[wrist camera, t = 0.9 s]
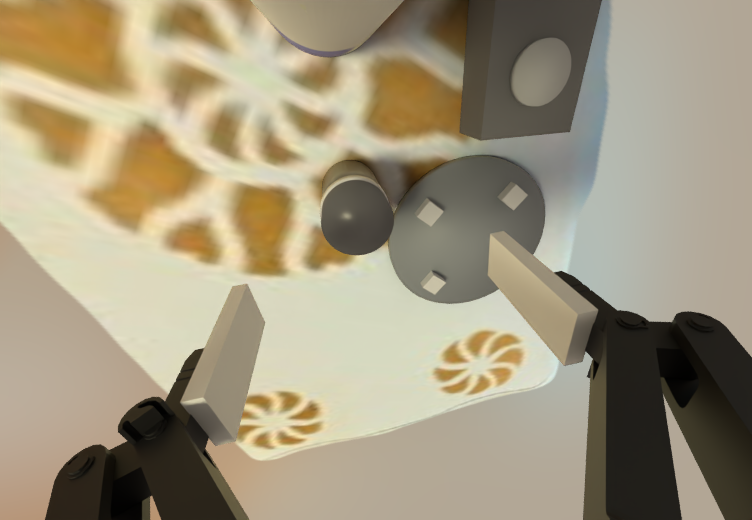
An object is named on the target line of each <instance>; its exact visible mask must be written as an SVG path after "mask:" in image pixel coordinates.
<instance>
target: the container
mask: <svg viewBox="0 0 752 520" xmlns="http://www.w3.org/2000/svg"><path fill="white" fill-rule="evenodd" d="M250 1H251V2H252V3H253V4H254V5H255V6H256V7H257V9H258V10H259V11H260V12H261V13H262V14H263V15H264V16H265V17H266V19H267V20H268V21H269V22H270V23H271V24H272V25H273V26H274V28H275V29H276V30H277V31H278V32H279V33H280V34H281V35H282V36H283V37H284V38H285V39H286V40H287V41H288V42H290V43H291V44H292V45H294V46H295V47H297V48H298V49H300V50H302V51H304V52H306V53H309V54H312V55H315V56H320V57H336V56H341V55H345V54H347V53H350V52H352V51H353V50H355V49H357V48H358V47H360V46H361V45H362V44H363V43H364V42H365V41H366V40H367V39H368V38H369V37H370V36H371V35H372V34H373V33H374V32H375V31H376V30H377V29H378V28H379V27H380V26H381V24H382V23H383V22H384V21H385V20H386V19H387V18H388V17H389V16H390V15H391V14H392V13H393V12H394V11H395V10H396V8H397V7H398V6H399V5H400V4H401V3H402V2H403V1H404V0H250Z"/></svg>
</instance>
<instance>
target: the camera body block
mask: <svg viewBox="0 0 752 520" xmlns="http://www.w3.org/2000/svg"><path fill="white" fill-rule="evenodd" d="M601 1H602V0H469V5H468V19H467V33H466V47H465V62H464V76H463V90H462V104H461V119H460V133H462V134H465V135H467V136H470V137H473V138H476V139H478V140H490V139H501V138H511V137H521V136H532V135H542V134H552V133H562V132H570V129H571V124H572V120H573V116H574V112H575V108H576V104H577V100H578V96H579V92H580V87H581V83H582V79H583V75H584V71H585V67H586V63H587V59H588V55H589V50H590V46H591V42H592V38H593V34H594V30H595V26H596V22H597V18H598V13H599V9H600V5H601Z"/></svg>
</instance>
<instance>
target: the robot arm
mask: <svg viewBox="0 0 752 520" xmlns="http://www.w3.org/2000/svg"><path fill="white" fill-rule="evenodd" d="M488 276H489V277H490V279H491V280H492V281H493V282H494V283H495V285H496V286H497V287H498V288H499V289H500V290H501V292H502V293H503V294H504V295H505V296H506V298H507V299H508V300H509V301H510V302H511V304H512V305H513V306H514V307H515V308H516V309H517V311H518V312H519V313H520V314H521V315H522V317H523V318H524V319H525V320H526V321H527V322H528V324H529V325H530V326H531V327H532V328H533V330H534V331H535V332H536V333H537V334H538V336H539V337H540V338H541V339H542V340H543V341H544V343H545V344H546V345H547V346H548V347H549V349H550V350H551V351H552V352H553V353H554V355H555V356H556V357H557V358H558V359H559V360H560V362H561V363H562V364H563V365H564V366H566V365H571V364H575V363H579V362H582V361H583V358H584V355H585V352H587V353H588V354H589V355H590V356H591V357H592V358H593V360H592V364H591V366H590V369H589V372H588V375H587V377H588V378H590V395H589V416H588V434H587V454H586V474H585V492H584V493H585V494H584V511H583V512H584V513H583V520H682V517H681V511H680V504H679V498H678V491H677V485H676V478H675V471H674V465H673V458H672V451H671V445H670V438H669V432H668V425H667V419H666V412H665V405H664V398H663V395H664V397H665V399H666V401H667V403H668V405H669V407H670V408H671V411H672V413H673V415H674V417H675V419H676V421H677V423H678V425H679V427H680V429H681V431H682V433H683V435H684V437H685V439H686V441H687V443H688V445H689V448H690V449H691V452H692V454H693V456H694V458H695V460H696V462H697V464H698V466H699V468H700V470H701V472H702V474H703V476H704V478H705V480H706V482H707V484H708V486H709V488H710V490H711V492H712V494H713V496H714V498H715V500H716V502H717V504H718V506H719V508H720V511H721V512H722V514H723V516H724V519H725V520H752V357H751V356H750V355H749V354H748V352H747V351H746V350H745V349H744V348H743V346H742V345H741V344H740V343H739V342H738V341H737V339H736V338H735V337H734V336H733V335H732V334H731V332H730V331H729V330H728V329H727V327H726V326H724V325H723V324H722V323H721V322H720V321H718V320H716V319H714V318H712V317H710V316H707V315H704V314H701V313H696V312H681V313H678V314H676V316H675V318H674V320H673V322H649V321H648V320H646V319H645V318H644V317H642V316H640V315H638V314H635V313H632V312H629V311H621V310H620V311H617V310H616V309H615V308H613V307H612V306H611V305H610V304H608V303H607V302H606V301H604V300H603V299H602V298H601V297H599V296H598V295H597V294H595V293H594V292H593V291H590V289H589V288H588V287H587V286H585V285H583V284H582V283H581V282H580V281H579V280H578V279H576V278H575V277H574V276H572V275H569V274H567V273H565V272H562V271H559V272H555V273H554V272H552V271H551V270H550V269H549V268H548V267H546V266H545V265H544V264H543V263H542V262H540V261H539V260H538V259H537V258H536V257H534V256H533V255H532V254H531V253H530V252H528V251H527V250H526V249H525V248H524V247H522V246H521V245H520V244H519V243H518V242H516V241H515V240H514V239H513V238H512V237H510V236H509V235H508V234H507V233H506V232H504V231H501V232H496V233H491V234H490V245H489V263H488ZM264 325H265V321H264V319H263V317H262V315H261V313H260V310H259V308H258V306H257V304H256V302H255V300H254V297H253V295H252V293H251V291H250V289H249V287H248V284H243V285H238V286H233V287H232V289H231V291H230V293H229V295H228V297H227V300H226V302H225V304H224V306H223V308H222V311H221V313H220V315H219V317H218V320H217V322H216V324H215V326H214V328H213V331H212V333H211V335H210V337H209V339H208V342H207V344H206V346H205V348H203V349H198V350H195V351H194V352H193V353H192V354H191V355H190V356H189V357H188V358H187V359H186V361H185V363H184V365H183V367H182V369H181V371H180V372H181V373H179V375H178V377H177V379H176V382H175V383H174V385H173V387H172V389H171V391H170V393H169V395H168V397H167V399H166V401H164V400H163V399H161V398H160V397H151V398H148V399H145V400H143V401H141V402H140V403H138V404H136V405H135V406H134V407H132V408H131V409H130V410H129V411H128V412H127V413H126V414H125V415H124V417H123V418H122V419H121V421H120V423H119V425H118V432H119V433H120V434H121V435H122V436H123V437H124V438H125V439H126V440H127V442H125V443H123V444H121V445H119V446H117V447H115V448H113V449H111V450H108V449H107V448H106V447H104V446H102V445H92V446H90V447H88V448H85V449H83V450H82V451H80V452H79V453H77V454H76V455H75V456H73V457H72V458H71V459H70V460H69V461H68V462H67V463H66V464H65V465H64V466H63V468H62V469H61V470H60V471H59V473H58V475H57V477H56V479H55V481H54V485H53V489H52V493H51V498H50V502H49V506H48V510H47V514H46V518H45V520H150V496H153V499H154V501H155V504H156V507H157V510H158V512H159V515H160V517H161V520H249V518H248V516H247V515H246V513H245V512H244V510H243V508H242V507H241V505H240V503H239V502H238V500H237V499H236V497H235V495H234V494H233V492H232V490H231V489H230V487H229V485H228V484H227V482H226V481H225V479H224V477H223V476H222V474H221V473H220V471H219V469H218V468H217V466H216V464H215V463H214V461H213V460H212V458H211V456H210V455H209V453H208V452H207V451H206V449H205V447H206V444H207V441H208V438H209V439H210V440H211V441H212V443H213V444H214V445H215V446H218V445H222V444H226V443H230V442H235V441H236V438H237V434H238V430H239V426H240V422H241V418H242V414H243V410H244V406H245V401H246V397H247V393H248V389H249V385H250V381H251V377H252V373H253V369H254V365H255V361H256V357H257V353H258V349H259V345H260V341H261V337H262V333H263V329H264Z"/></svg>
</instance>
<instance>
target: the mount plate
mask: <svg viewBox="0 0 752 520" xmlns="http://www.w3.org/2000/svg"><path fill="white" fill-rule="evenodd" d="M544 222H545V206H544V201H543V197H542V194H541V192H540V189H539V187H538V186H537V184H536V182H535V181H534V180H533V178H532V177H531V176H530V175H529V174H528V173H527V172H526V171H524V170H523V169H522V168H520V167H518V166H517V165H515V164H513V163H511V162H508V161H506V160H503V159H500V158H497V157H492V156H481V155H475V156H466V157H462V158H458V159H454V160H451V161H449V162H446V163H444V164H442V165H440V166H438V167H436V168H434V169H432V170H431V171H430V172H428V173H427V174H425V175H424V176H423V177H421V178H420V179H419V180H418V181H417V182H416V183H415V184H414V185H413V186H412V187H411V188H410V189H409V190H408V192H407V193H406V194H405V195H404V197H403V198H402V200H401V201H400V203H399V205H398V207H397V209H396V211H395V213H394V226H393V230H392V233H391V235H390V237H389V238H388V247H389V254H390V259H391V262H392V264H393V267H394V269H395V272H396V274H397V276H398V277H399V279H400V280H401V282H402V283H403V284H404V285H405V286H406V287H407V288H408V289H409V290H410V291H411V292H413V293H414V294H416V295H417V296H419V297H422V298H424V299H426V300H429V301H433V302H438V303H447V304H453V303H463V302H469V301H472V300H476V299H479V298H482V297H484V296H487V295H489V294H491V293H493V292H495V291H496V290H498V289H499V288H498V287H497V286H496V285H495V283H494V282H493V281H492V280H491V279H490V277H489V276H488V263H489V245H490V234H491V233H496V232H501V231H504V232H506V233H507V234H508V235H509V236H510V237H512V238H513V239H514V240H515V241H516V242H518V243H519V244H520V245H521V246H522V247H524V248H525V249H526V250H527V251H528V252H530V253H531V254H532V255H533V254H534V252H535V250H536V248H537V246H538V244H539V242H540V239H541V236H542V233H543V228H544Z"/></svg>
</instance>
